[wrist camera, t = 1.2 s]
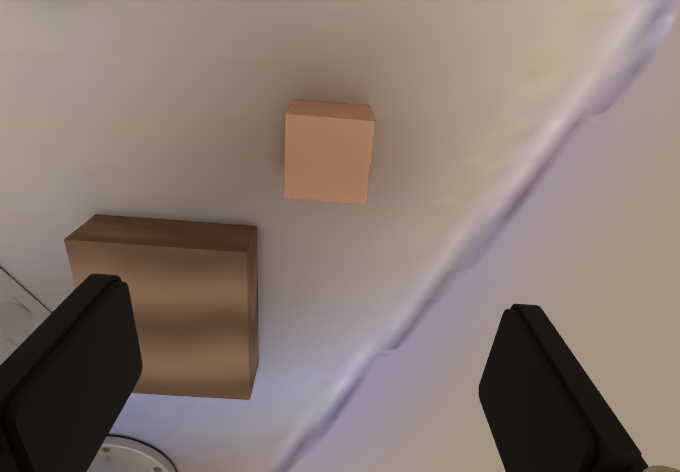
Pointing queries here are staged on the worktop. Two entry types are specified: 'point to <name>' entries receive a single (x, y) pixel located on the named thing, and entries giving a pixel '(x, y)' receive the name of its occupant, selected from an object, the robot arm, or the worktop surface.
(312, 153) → the terracotta cube
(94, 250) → the walnut stand
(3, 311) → the skincare box
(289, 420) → the worktop surface
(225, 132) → the worktop surface
